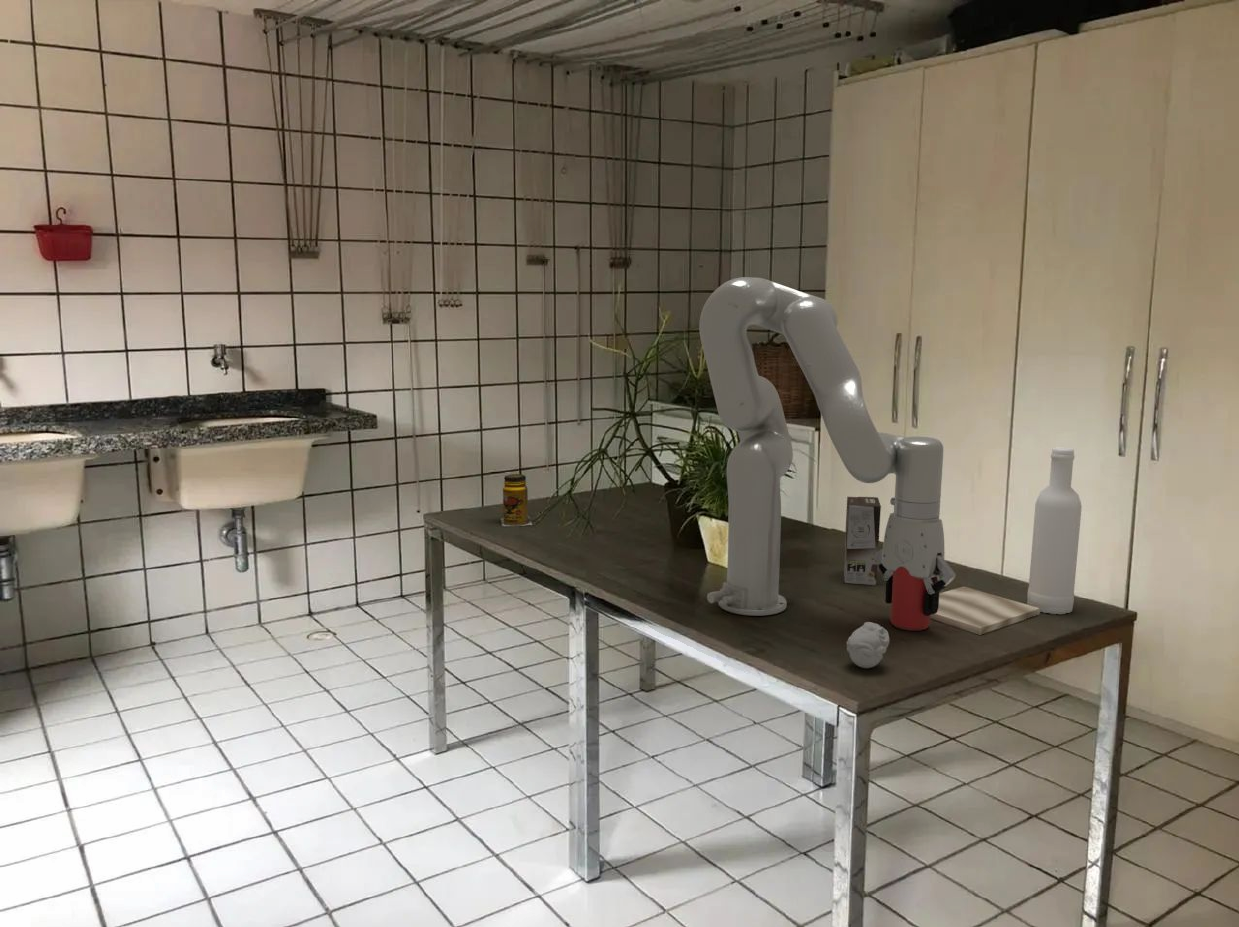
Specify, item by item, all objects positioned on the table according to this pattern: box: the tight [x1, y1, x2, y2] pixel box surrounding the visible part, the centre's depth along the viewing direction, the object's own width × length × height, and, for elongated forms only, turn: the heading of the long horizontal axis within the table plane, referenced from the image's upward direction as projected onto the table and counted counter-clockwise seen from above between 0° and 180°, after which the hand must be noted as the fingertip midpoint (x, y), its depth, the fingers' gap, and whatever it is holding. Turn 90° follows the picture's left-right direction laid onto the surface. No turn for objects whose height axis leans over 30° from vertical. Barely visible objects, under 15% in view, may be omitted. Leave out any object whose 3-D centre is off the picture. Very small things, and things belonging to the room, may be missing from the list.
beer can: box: [890, 567, 933, 632], centre depth 174 cm, size 7×7×12 cm
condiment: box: [500, 473, 533, 527], centre depth 247 cm, size 7×8×12 cm
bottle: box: [1026, 446, 1083, 615], centre depth 182 cm, size 8×8×30 cm
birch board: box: [930, 585, 1041, 636], centre depth 182 cm, size 18×16×1 cm
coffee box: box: [843, 496, 882, 586], centre depth 202 cm, size 9×6×16 cm
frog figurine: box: [846, 621, 890, 669], centre depth 156 cm, size 6×7×7 cm
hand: (911, 607), depth 175 cm, fingers open, 7 cm apart
